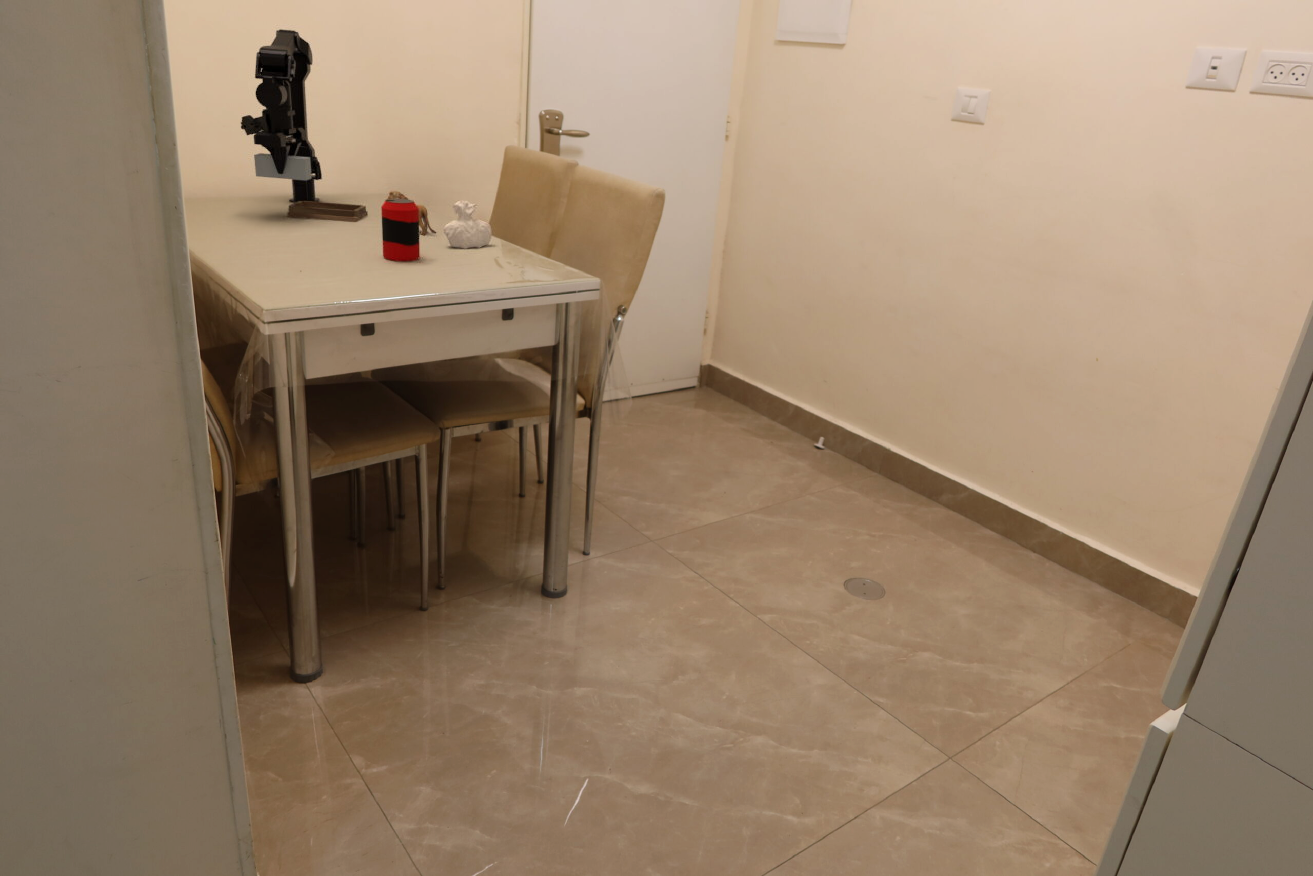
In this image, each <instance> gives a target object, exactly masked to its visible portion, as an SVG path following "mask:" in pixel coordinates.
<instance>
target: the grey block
mask: <svg viewBox="0 0 1313 876" xmlns="http://www.w3.org/2000/svg"><path fill="white" fill-rule="evenodd" d="M253 155H254V156H253V157H254V170H255V171H254V172H255V177H260V178H270V179H271V178H272V179H273V178H274V179H284V180H286V179H287V180H292V179H294V180H309V179H311V178H312V177H311V175H312V174H311V162H310V157H300V156H288V157H287V161H286V165H285V169H284V172H283V174H278V172H277V169H276V167H275V164H274V161H273V159H272V156H271V154H270V153H265V152H264V153H262V152H259V153H257V154H256V153H255V154H253Z"/></svg>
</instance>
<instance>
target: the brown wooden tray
mask: <svg viewBox="0 0 1313 876" xmlns="http://www.w3.org/2000/svg"><path fill="white" fill-rule="evenodd" d="M367 216H368V210H367V206H366V205H363V204H350V203H337V202H327V201H325V202H323V201H317V202H313V201H298V202H292V203H291V204H289V205H288V212H287V211H286V217H287V218H297V217H298V218H299V219H310V218H313V219H315V220H325V221H326V220H327V221H336V222H337V221H340V222H350V223H351V222H352V223H353V222H354V223H356V222H357V223H358V221H360V220H362V219H363V218H365V217H367Z"/></svg>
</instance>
